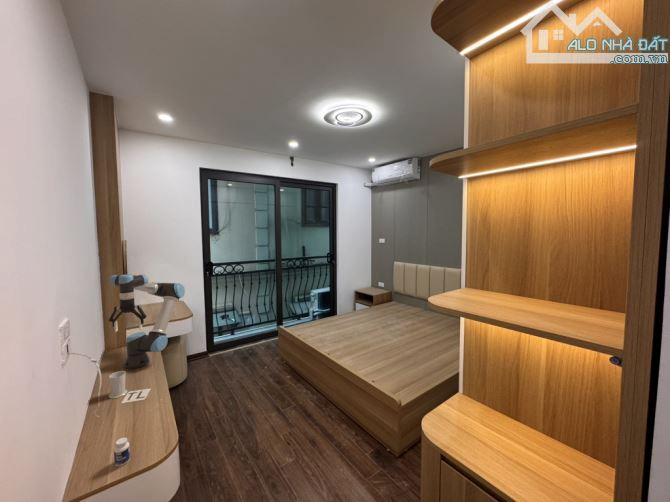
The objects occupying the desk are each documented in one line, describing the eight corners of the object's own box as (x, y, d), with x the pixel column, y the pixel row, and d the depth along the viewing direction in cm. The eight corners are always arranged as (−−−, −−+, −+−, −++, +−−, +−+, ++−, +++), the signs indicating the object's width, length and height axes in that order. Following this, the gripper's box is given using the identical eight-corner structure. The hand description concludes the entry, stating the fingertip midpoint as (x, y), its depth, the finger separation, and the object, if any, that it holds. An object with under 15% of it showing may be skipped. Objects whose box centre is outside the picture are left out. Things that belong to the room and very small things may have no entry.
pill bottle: (114, 469, 117) (113, 447, 116) (115, 460, 121) (113, 439, 120) (130, 462, 120) (129, 441, 119) (130, 454, 124) (129, 434, 124)
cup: (117, 397, 164) (116, 378, 163) (106, 396, 166) (105, 377, 165) (130, 390, 172) (129, 371, 171) (119, 388, 174) (118, 370, 173)
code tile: (128, 392, 172) (128, 391, 172) (151, 388, 176) (151, 388, 175) (120, 403, 160) (120, 403, 160) (144, 400, 164) (144, 399, 164)
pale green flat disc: (112, 391, 172) (112, 390, 172) (129, 388, 175) (129, 387, 175) (106, 399, 163) (106, 398, 163) (124, 397, 166) (124, 396, 166)
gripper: (101, 301, 172) (102, 334, 173) (147, 298, 180) (149, 330, 181) (106, 298, 179) (108, 330, 180) (151, 295, 187) (152, 326, 189)
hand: (128, 330), depth 181 cm, fingers open, 13 cm apart
